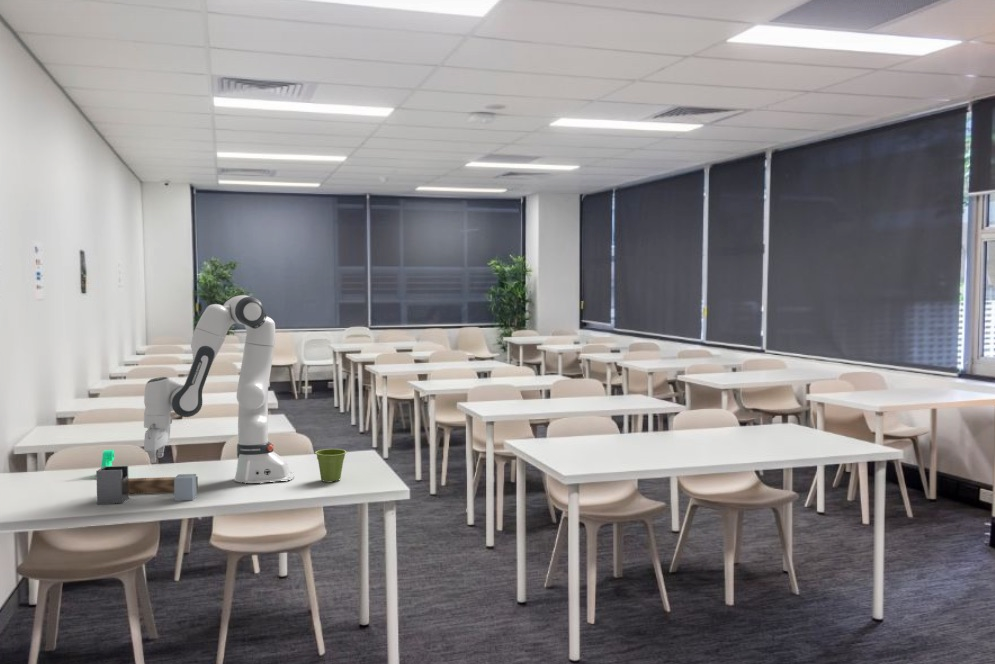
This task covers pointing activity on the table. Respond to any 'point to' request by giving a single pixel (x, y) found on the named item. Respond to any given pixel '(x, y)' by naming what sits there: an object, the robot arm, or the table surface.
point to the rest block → (185, 487)
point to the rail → (153, 485)
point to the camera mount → (107, 458)
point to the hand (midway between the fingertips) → (156, 459)
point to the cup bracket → (112, 484)
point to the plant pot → (330, 463)
